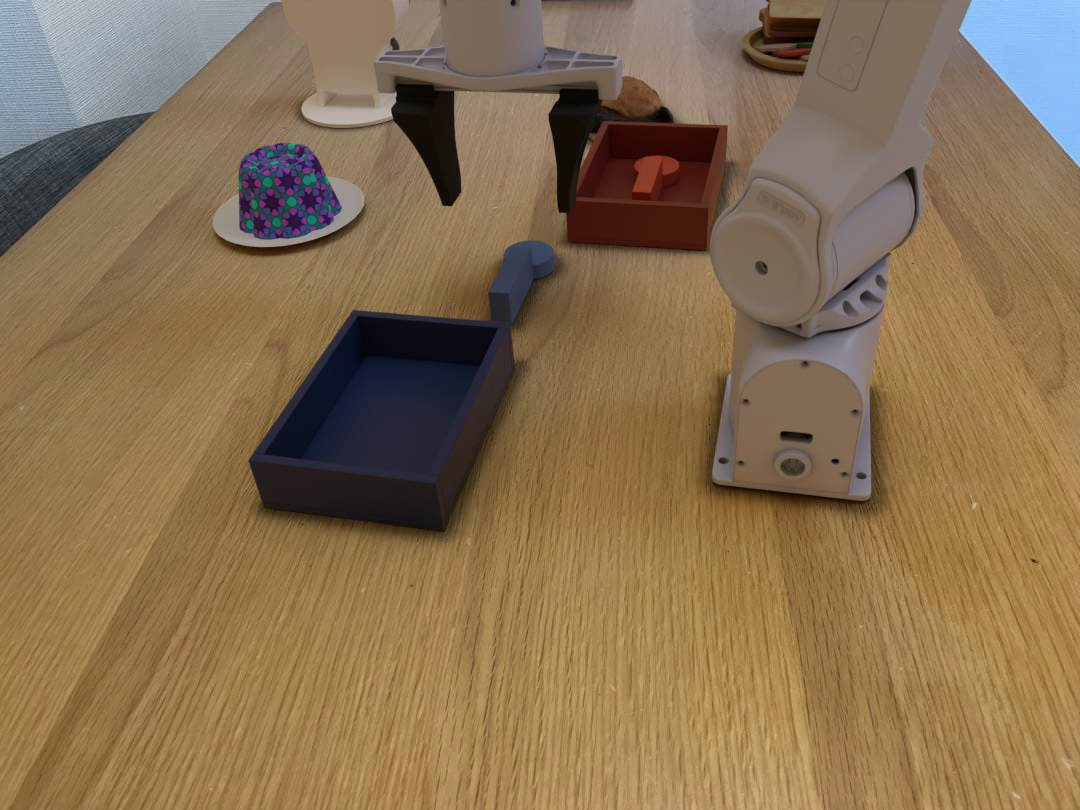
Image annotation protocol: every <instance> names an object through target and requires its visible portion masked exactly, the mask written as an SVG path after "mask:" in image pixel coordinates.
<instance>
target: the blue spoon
mask: <svg viewBox="0 0 1080 810" xmlns="http://www.w3.org/2000/svg"><path fill="white" fill-rule="evenodd" d="M502 257H503V263H502V264H501V266H500V268H499V270H498V272H497V273H496V276H495V278H494V279H493V281H492V283H491V286H490V287H489V289H488V291H487V293H488V294H487V295H488V302H489V310H490V318H491V321H493V322H505V323H510V324H511V327H512V326H513V324H514V322H515V320H516V318H517V316H518V313H519V311H520V309H521V307H522V305H523V303H524V301H525V299H526V297H527V294H528V292H529V290H530V287H531V286H532V283H533V282H534V281H535V280H538V279H543V278H545V277H547V276H549V275H550V274H551V273H552V272H553V271H555V270H554V269H555V267H556V261H555V250H554V248H553V246H552V245H551V244H549V243H547V242H544V241H542V240H535V239H534V240H532V239H531V240H521V241H518V242H515V243H512V244H510V245H509V246H507V247H506V248H505V250H504V251H503V254H502Z"/></svg>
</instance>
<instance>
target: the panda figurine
mask: <svg viewBox="0 0 1080 810" xmlns="http://www.w3.org/2000/svg"><path fill="white" fill-rule="evenodd" d="M280 2H281V7H282V10H283V14H284V16H285V18H286V21H287V23H288V25H289V26H290V28H291V29H292V31H293V33H294V34H295V35H296V36H297V37H298V38H299V39H300V40H301V41H302V42H303V43H305V45H307V48H308V53H309V58H310V62H311V66H312V72H313V78H314V83H315V91H316V92H314V93H312V95H310V96H309V97H307V98H306V99H305V100H304V101H303V102H302V105H301V108H300V109H301V114H302V117H303V118H304V119H305V120H306V121H307V122H309V123H311V124H313V125H316V126H320V127H325V128H333V129H351V128H353V129H354V128H363V127H368V126H370V127H371V126H375V125H378V124H382V123H386V122H390V121H392V120H393V117H392V113H391V108H392V106H393V105H394V104H395V103H396V96H397V94H396V92H395V93H379V91H378V85H377V80H376V74H375V68H374V61H375V60H376V59H377V58H378V57H379V56H380V55H381V54H382V53H383V52H384V51H385V50H401V47H400V44H399V42H398V40H397V38H395V36H396V35H397V34H398V33H399V32H400V31H401V29H402V27H403V26H404V25H405V22H406V20H407V19H408V14H409V12H410V6H411V0H281V1H280Z"/></svg>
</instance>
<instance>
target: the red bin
mask: <svg viewBox="0 0 1080 810" xmlns="http://www.w3.org/2000/svg"><path fill="white" fill-rule="evenodd" d="M728 129H729V125H727V124H702V123H701V124H700V123H676V122H674V123H646V122H616V121H603V122H602V124H601V126H600V129H599V131H598V133H597V135H596V137H595V139H594V141H592V143H591V145H590V147H589V150H588V152H587V153H586V156H585V158H584V160H583V161H582V164H581V167H580V172H579V177H578V184H577V194H576V201H575V203H574V205H573V207H572V210H571V212H570V213H565V217H566V218H565V219H566V234H567V235H566V236H567V242H568V243H582V244H583V243H585V244H597V245H599V244H600V245H615V246H629V247H630V246H631V247H646V248H647V247H648V248H660V249H661V248H664V249H677V250H678V249H681V250H693V251H694V250H696V251H708V245H709V243H710V237H711V233H712V229H713V223H714V219H715V215H716V209H717V206H718V200H719V196H720V192H721V187H722V182H723V179H724V174H725V169H726V166H727V147H728V132H729V131H728ZM648 156H667V157H671V158H674V159H675V160H677V161H678V162H679V165H680V168H679V181H678V182H677V183H676V184H675V185H673V186H670V187H667V188H662V190H661V194H660V197H659V200H658V201H643V200H632V190H633V188H634V185H635V181H634V164H635V163H636V162H637V161H638V160H639V159H642V158H644V157H648Z"/></svg>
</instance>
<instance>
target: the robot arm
mask: <svg viewBox="0 0 1080 810" xmlns="http://www.w3.org/2000/svg"><path fill="white" fill-rule="evenodd" d="M972 1H973V0H827V1H826V4H825V8H824V11H823V14H822V17H821V21H820V24H819V27H818V30H817V33H816V37H815V40H814V43H813V46H812V50H811V53H810V56H809V59H808V62H807V66H806V69H805V72H803V76H802V79H801V82H800V85H799V88H798V92H797V95H796V98H795V101H794V105H793V106H792V108H791V109H790V111H789V113H787V115H786V117H785V118H784V120H783V121H782V122H781V124H780V125H779V126H778V128H777V129H776V130H775V131H774V133H773V134H772V135H771V137H770V138H769V139H768V141H767V142H765V145H763V147H762V149H761V150H760V152H759V153H758V154H757V156H756V157H755V159H754V160H752V163H751V164H750V166H749V169H748V171H747V176H746V179H745V181H744V185H743V188H742V190H741V192H740V193H739V195H738V197H737V198H736V199H735V200H734V201H733V202H732V203H731V204H730V205H728V206H727V207H726V208H725V209H724V210H723V211H722V212H721V213H720V215H719V216H718V217H717V219H716V220H715V223H714V225H713V226H712V228H711V233H710V237H709V256H710V257H709V258H710V261H711V266H712V269H713V272H714V275H715V278H716V280H717V281H718V284H719V286H720V287H721V289H722V290H723V292H724V294H725V295H726V296H727V297H728V299H729V300H730V302H731V305H730V306H731V307H732V308H733V309H734V310H735V314H734V315H735V317H734V331H733V333H734V334H733V344H732V345H733V346H732V361H731V372H730V373H728V374H727V377H726V383H725V384H726V385H725V390H724V396H723V402H722V408H721V414H720V421H719V427H718V433H717V440H716V444H715V445H716V446H715V452H714V458H713V463H712V471H711V481H712V482H713V483H715V484H716V485H719V486H728V487H735V488H736V487H737V488H746V489H755V490H764V491H771V492H780V493H781V492H782V493H789V494H799V495H806V496H815V497H824V498H832V499H842V500H850V501H857V502H858V501H859V502H865V501H867V500H869V499H870V498H871V495H872V457H871V456H872V455H871V453H872V452H871V448H872V447H871V407H870V405H871V402H870V400H871V399H870V389H871V383H872V378H873V372H874V367H875V361H876V355H877V350H878V344H879V339H880V333H881V328H882V323H883V322H882V321H883V316H884V312H885V311H884V310H885V305H886V304H885V303H886V300H887V295H888V285H889V279H888V274H889V269H890V262H891V258H892V257H891V256H892V253H891V252H893V251H895V250H896V249H898V248H900V247H902V246H903V245H905V243H907V242H908V241H909V240H910V239H911V238H912V237H913V235H914V234H915V232H916V231H917V230H918V227H919V225H920V224H921V221H922V218H923V215H924V210H925V190H924V172H925V171H924V170H925V166H926V163H927V159H928V157H929V154H930V152H931V150H932V148H933V145H934V143H935V141H934V138H933V136H932V134H931V133H930V131H929V130H927V128H926V127H925V126H924V125H923V123H921V122H922V120H923V117H924V115H925V113H926V110H927V108H928V105H929V103H930V101H931V98H932V96H933V94H934V91H935V89H936V86H937V84H938V82H939V79H940V77H941V75H942V73H943V70H944V68H945V65H946V62H947V61H948V58H949V55H950V53H951V51H952V48H953V46H954V43H955V41H956V39H957V37H958V35H959V32H960V30H961V27H962V25H963V22H964V20H965V17H966V15H967V13H968V10H969V9H970V6H971V3H972ZM438 4H439V12H440V20H441V28H442V29H441V30H442V37H443V44H444V45H443V46H434V47H425V48H423V47H422V48H413V49H400V50H392V49H391V50H385V51H384V52H383V53H382V54H381V55H380V56H379V57H378V58H377V59H376V60H375V61H374V68H375V74H376V80H377V85H378V91H379V93H395V92H396V94H397V96H396V103H395V104H394V105H393V106H392V108H391V113H392V117H393V119H392V120H393V122H394V123H395V124H396V126H397V127H398V128H399V129H400V130H401V131H402V132H403V134H404V135H405V136H406V137H407V139H408V141H410V143H411V144H412V145H413V147H414V149H415V151H417V153H418V155H419V156H420V159H421V160H422V162H423V164H424V166H425V167H426V169H427V172H428V174H429V175H430V178H431V180H432V182H433V185H434V187H435V189H436V192H437V195H438V197H439V200H440V204H441V205H442V206H443V207H453V206H454V204H455V203H456V201H457V200H458V198H459V197H460V195H461V193H462V175H461V167H460V160H459V154H458V147H457V140H456V125H455V123H456V122H455V121H456V119H455V92H471V93H472V92H477V93H510V94H537V95H538V94H539V95H540V94H541V95H558V96H559V97H558V99H557V100H556V101H555V102H554V104H553V105H552V108H551V109H550V111H549V112H548V114H547V115H548V125H549V127H550V132H551V137H552V143H553V149H554V157H555V164H556V203H557V204H556V205H557V211H558V213H559V214H566V213H570V212H571V210H572V207H573V205H574V203H575V201H576V194H577V184H578V177H579V172H580V169H581V167H582V164H583V158H584V154H585V151H586V147H587V144H588V141H589V139H590V138H589V135H590V132H591V129H592V126H593V124H594V121H595V119H596V116H597V113H598V111H599V109H600V106H601V104H602V102H603V100H616V99H617V97H618V96H619V94H620V92H621V89H622V76H623V56H622V54H606V53H605V54H604V53H596V52H595V53H594V52H589V51H582V50H577V49H569V48H563V47H558V46H553V45H552V46H551V45H546V44H545V40H544V25H543V10H542V0H438Z"/></svg>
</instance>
